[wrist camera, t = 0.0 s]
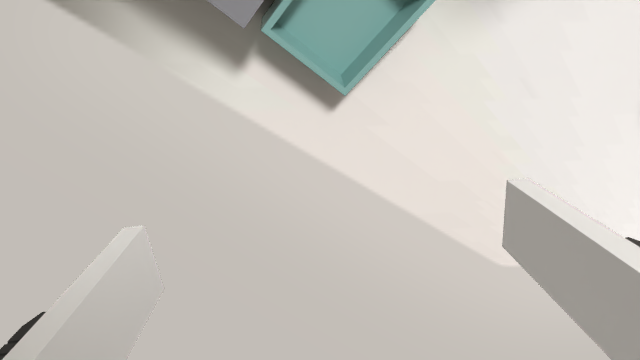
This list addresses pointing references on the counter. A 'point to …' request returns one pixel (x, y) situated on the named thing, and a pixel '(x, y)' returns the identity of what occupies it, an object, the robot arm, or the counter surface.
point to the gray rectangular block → (238, 9)
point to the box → (340, 33)
